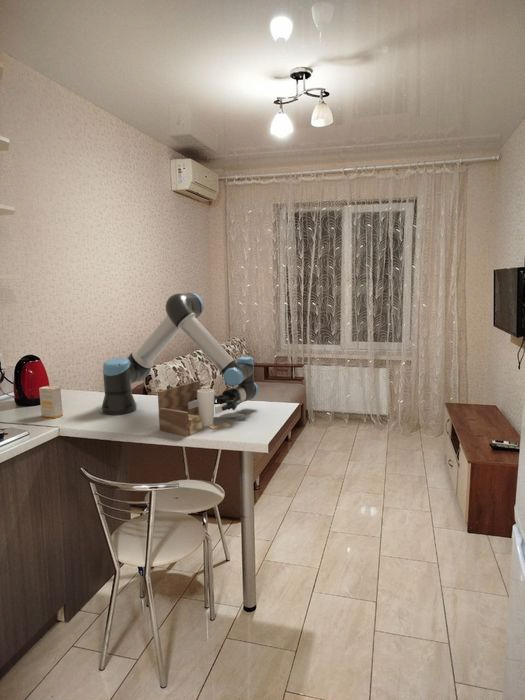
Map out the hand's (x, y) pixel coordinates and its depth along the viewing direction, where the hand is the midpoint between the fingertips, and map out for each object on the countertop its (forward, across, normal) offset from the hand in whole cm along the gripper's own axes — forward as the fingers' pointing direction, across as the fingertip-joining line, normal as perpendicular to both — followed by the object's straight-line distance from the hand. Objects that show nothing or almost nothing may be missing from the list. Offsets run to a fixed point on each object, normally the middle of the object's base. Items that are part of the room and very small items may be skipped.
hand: (202, 408), depth 186 cm
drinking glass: (-3, 0, -9) cm, 9 cm away
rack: (+1, +4, -8) cm, 10 cm away
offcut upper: (+7, 0, -4) cm, 8 cm away
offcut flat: (-3, -6, -9) cm, 11 cm away
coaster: (-18, -1, -8) cm, 20 cm away
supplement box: (+18, +70, -9) cm, 73 cm away
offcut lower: (+7, 0, -7) cm, 10 cm away
